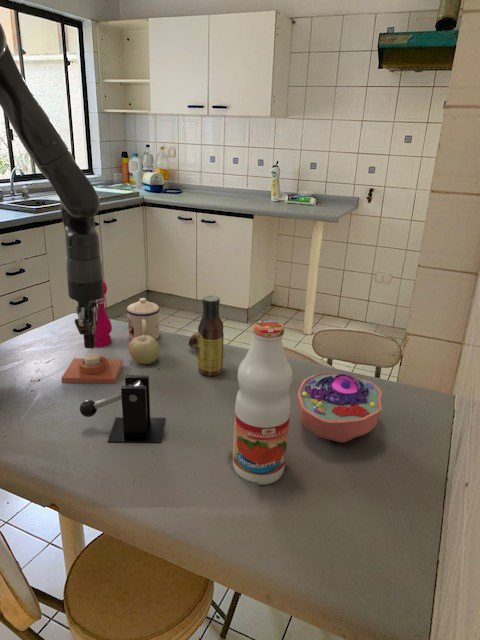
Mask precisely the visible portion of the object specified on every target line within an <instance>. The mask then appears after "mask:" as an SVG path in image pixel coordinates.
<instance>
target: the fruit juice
mask: <svg viewBox="0 0 480 640" xmlns="http://www.w3.org/2000/svg"><path fill="white" fill-rule="evenodd" d="M252 334H253V336H254V337H253V339H252V342H251V344H250V347H249V348H248V351H247V353H246V355H245V357H243V359H242V361H241V362H240V363H239V366H238V369H237V383H238V386H239V389H238V391H237V393H236V397H235V404H234V425H233V445H232V446H233V447H232V467H233V471H235V473H236V474H237V475H238V476H239V477H241V478H242V479H244V480H246V481H249V482H252V483H257V486H264V485H265V486H266V485H269V484H270V485H271V484H273V483H275V482H277V481H278V480H280V478H281V477H282V476H283V474H284V472H285V468H286V458H287V450H288V449H287V448H288V437H289V430H290V429H289V428H290V420H291V419H290V418H291V410H292V409H291V407H292V406H291V405H292V404H291V403H292V401H291V397H290V394H289V391H290V390H291V387H292V384H293V379H294V375H293V374H294V373H293V369H292V366H291V364H290V362H289V360H288V357H287V354H286V351H285V347H284V344H283V340H282V338H283V337H284V334H285V326H284V325H283V324H282V323H281V322H279V321H277V320H273V319H272V320H271V319H263V320H257V321H256V322H254V323H253V326H252Z"/></svg>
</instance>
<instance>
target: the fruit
mask: <svg viewBox="0 0 480 640" xmlns="http://www.w3.org/2000/svg"><path fill="white" fill-rule="evenodd" d="M128 353H129V355H130V357H131V359H133V361H135V362H136V363H138V364H139V365H150V364H152V363H154V362H156V360H157V359H158V357H159V354H160V345H159V342H158V341H157V339H156V340H155V339H154V338H153V337H151V336H149V335H147V334H145V335H142V336H138V337H136V338H134V339H133V340H131V341H130V342H129V345H128Z"/></svg>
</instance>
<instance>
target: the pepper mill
mask: <svg viewBox="0 0 480 640" xmlns="http://www.w3.org/2000/svg"><path fill="white" fill-rule="evenodd" d="M103 289H104V295H103V296H102V297H101V298H100V299H97V300H96V302H99V311H98V321H97V322H98V324H97V326H96V330H95V331H94V332H95V343H96V345H95V346H94V348H102V347H106V346H108V345H110V344H111V343H112V336H111V333H112V331H113V325H112V321H111V319H110V318H109V315H108V314H107V311H106V308H105V303H106V301H107V297H106V294H107V291H108V286H107V284H106V282H105V281H104V280H103Z"/></svg>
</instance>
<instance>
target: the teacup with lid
mask: <svg viewBox="0 0 480 640" xmlns="http://www.w3.org/2000/svg"><path fill="white" fill-rule="evenodd" d="M126 312H127V324H128V328H127V329H128V338H129V340H131V341H132V340H133V339H134V338H136V337H138V336H142V335H145V334H147V335H149V336H151V337H153V338H154V339H155V340H156V341H157V340H158V339H159V337H160V306H159V305H158V304H157V303H155V302H151V301H148V300H147V298H146V297H141V298H140V297H139V300H138V301H136V302H133V303H130V304H129V305H128V306H127V308H126Z"/></svg>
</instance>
